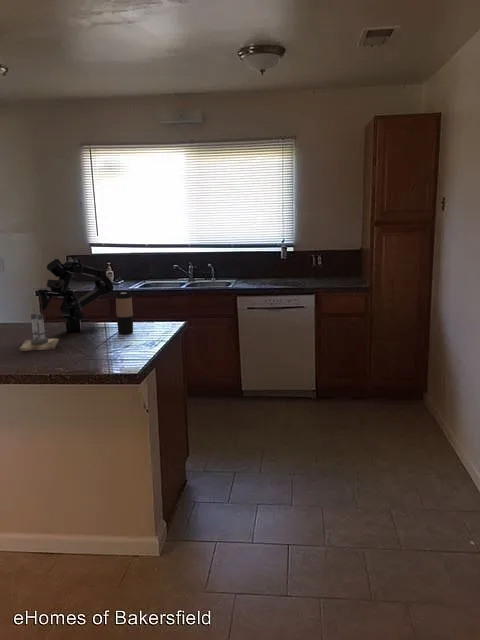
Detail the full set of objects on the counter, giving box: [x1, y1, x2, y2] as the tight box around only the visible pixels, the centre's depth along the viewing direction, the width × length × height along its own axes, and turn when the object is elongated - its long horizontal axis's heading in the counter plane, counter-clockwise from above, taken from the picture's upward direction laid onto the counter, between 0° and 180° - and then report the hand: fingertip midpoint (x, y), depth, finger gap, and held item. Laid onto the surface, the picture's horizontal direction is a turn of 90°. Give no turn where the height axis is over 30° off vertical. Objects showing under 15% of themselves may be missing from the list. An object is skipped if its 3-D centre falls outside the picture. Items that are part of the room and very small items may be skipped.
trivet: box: [19, 338, 59, 352], centre depth 234 cm, size 14×14×1 cm
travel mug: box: [115, 290, 134, 336], centre depth 254 cm, size 8×8×20 cm
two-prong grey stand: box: [30, 313, 49, 345], centre depth 232 cm, size 5×5×13 cm
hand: (51, 310), depth 243 cm, fingers open, 9 cm apart
